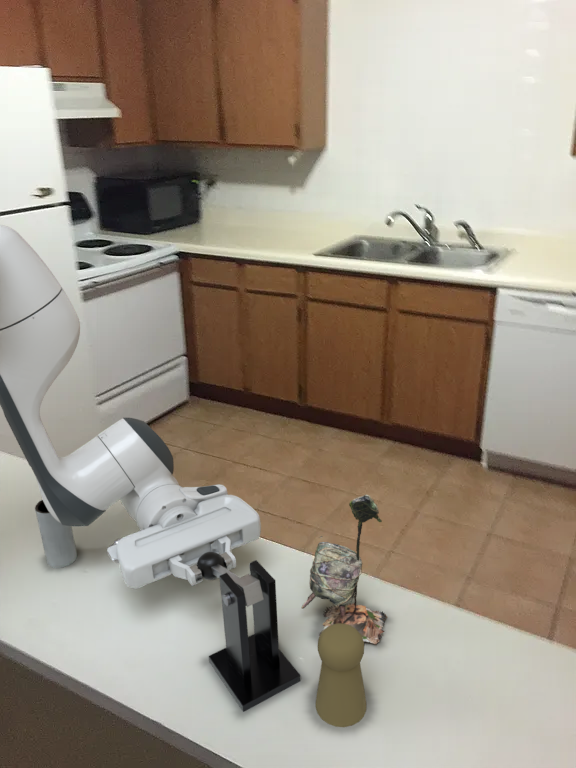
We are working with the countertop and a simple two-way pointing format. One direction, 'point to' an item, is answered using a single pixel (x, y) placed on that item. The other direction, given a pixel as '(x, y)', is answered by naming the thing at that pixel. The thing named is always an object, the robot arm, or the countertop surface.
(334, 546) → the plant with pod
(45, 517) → the grey tall hollow cylinder
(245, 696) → the black lever stand
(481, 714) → the countertop surface
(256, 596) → the lever handle
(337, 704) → the olive pawn figure
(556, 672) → the countertop surface
